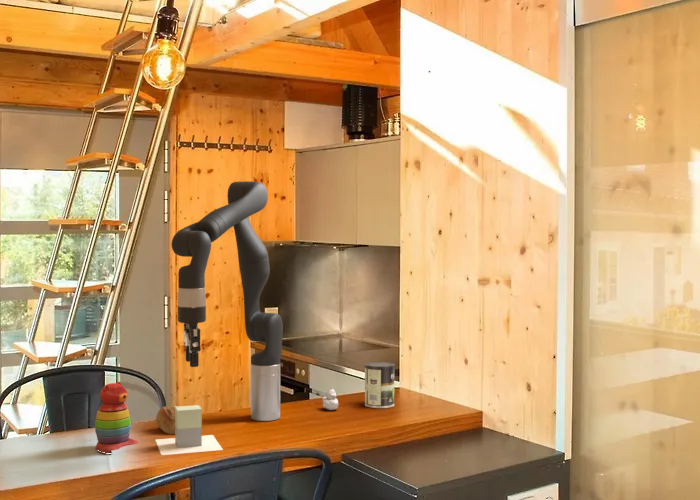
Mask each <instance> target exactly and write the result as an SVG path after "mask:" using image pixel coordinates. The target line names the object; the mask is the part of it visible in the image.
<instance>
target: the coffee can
mask: <svg viewBox="0 0 700 500" xmlns="http://www.w3.org/2000/svg"><path fill="white" fill-rule="evenodd" d="M395 366H396V364H395V363H393V362H388V361H369V362H365V363H364V406H365V407H367V408H369V409H370V408H372V409H388V408H393V407H395V405H396V404H395Z"/></svg>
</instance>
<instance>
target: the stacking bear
mask: <svg viewBox="0 0 700 500" xmlns="http://www.w3.org/2000/svg"><path fill="white" fill-rule="evenodd" d="M99 396H100V400H101V403H102V404H101V405H100V407H98V408H99V409H98V410H97V412H96V415H95V416H96V417H95V421H94V429H95V434H96V437H97V438H96V439H97V442H96V445H95V449H97V450H99V451H101V452H105V453H112V451H116V450H120V448H123V447H126V446H133V445H137V444H139V441H138V440H136V439H134V438H130V432H131V427H132V419H131V416H130V411H129V407H128V405H127V404H126V401H127V399H128V398H129V397H128V396H129V394H128V391H127V389H126V388H125V387H124V386H123V385H122V383H121V382H120V381H116V382H113V383H107V384H105V385H103V387H102V389H101V390H100V393H99ZM97 450H96V451H97ZM112 454H113V453H112Z"/></svg>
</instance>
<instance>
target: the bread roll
mask: <svg viewBox="0 0 700 500" xmlns="http://www.w3.org/2000/svg"><path fill="white" fill-rule="evenodd" d="M179 406H180V405H176V404H175V405H165V406H162V407H161V408H159V410H158V412H157V413H156V415H155V422H156V425H157V426H158V428H159V429H160V430H161V431H163V432H164V433H166V434H168V435H175V407H179Z"/></svg>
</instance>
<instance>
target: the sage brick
mask: <svg viewBox="0 0 700 500" xmlns="http://www.w3.org/2000/svg"><path fill="white" fill-rule="evenodd" d="M178 406H179V407H175V425H176V427H177V429H188V428H201V427H202V426H203V425H202V424H203V423H202V422H203V421H202V419H203V418H202V417H203V415H202V414H203V409H202V407H201V406H200V405H198V404H197V405H196V404H194V405H181V406H180V405H178ZM202 428H203V427H202Z"/></svg>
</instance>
